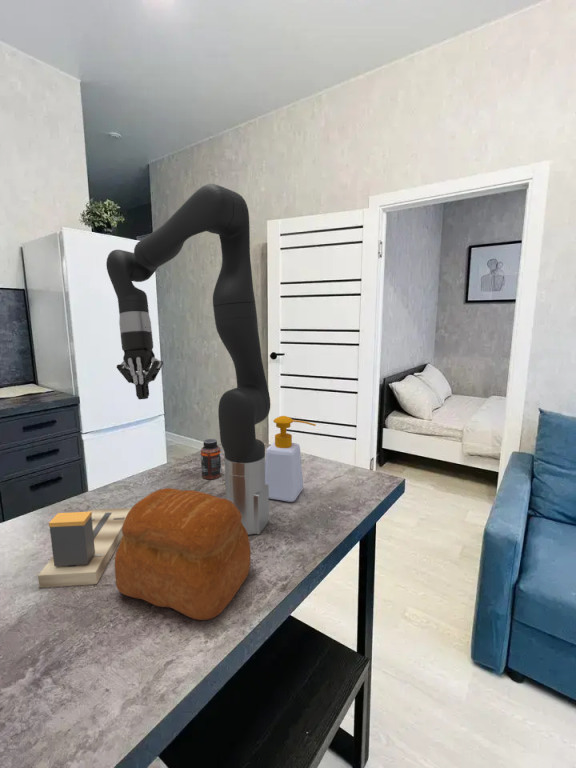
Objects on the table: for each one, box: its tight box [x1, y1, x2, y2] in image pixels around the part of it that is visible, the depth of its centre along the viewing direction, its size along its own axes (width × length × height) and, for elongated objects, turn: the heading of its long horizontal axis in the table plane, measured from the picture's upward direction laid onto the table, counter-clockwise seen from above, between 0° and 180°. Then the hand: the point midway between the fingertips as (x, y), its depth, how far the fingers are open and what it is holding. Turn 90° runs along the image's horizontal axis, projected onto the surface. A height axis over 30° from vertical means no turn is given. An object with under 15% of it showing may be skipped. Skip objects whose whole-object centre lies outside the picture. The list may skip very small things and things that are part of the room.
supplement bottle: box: [200, 438, 222, 480], centre depth 119 cm, size 6×6×11 cm
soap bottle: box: [265, 415, 317, 503], centre depth 106 cm, size 10×14×22 cm
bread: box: [114, 487, 252, 621], centre depth 71 cm, size 18×22×17 cm
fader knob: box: [48, 511, 95, 566], centre depth 74 cm, size 4×6×9 cm, turn 96°
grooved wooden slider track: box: [37, 507, 132, 589], centre depth 83 cm, size 24×10×3 cm, turn 6°
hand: (143, 398), depth 100 cm, fingers closed
